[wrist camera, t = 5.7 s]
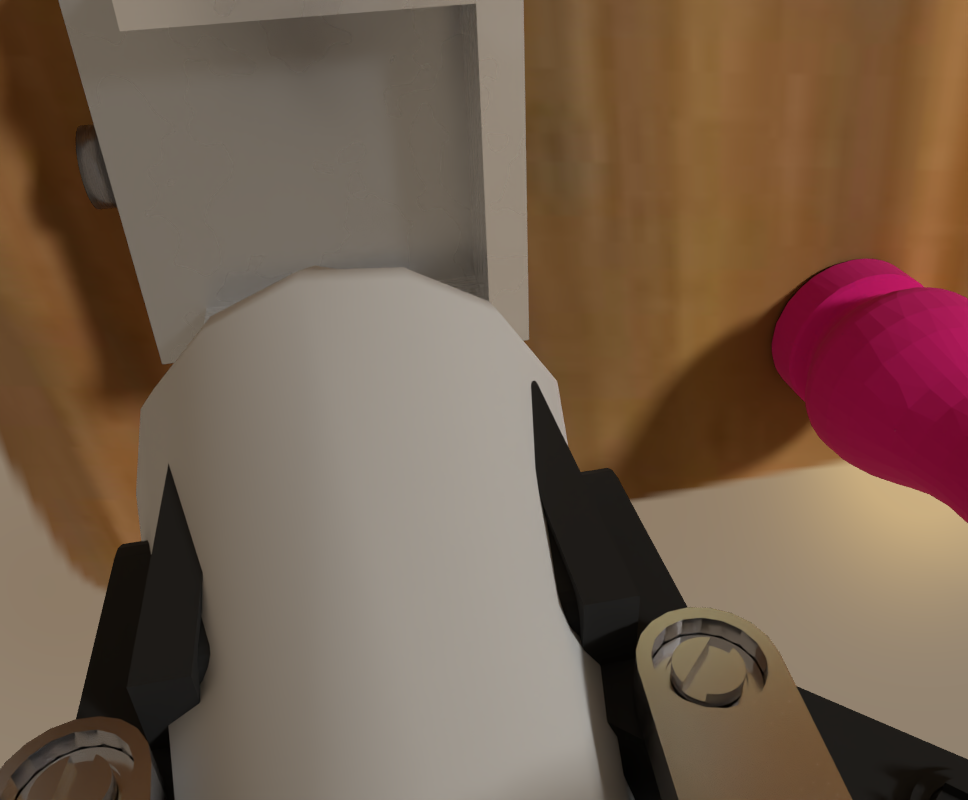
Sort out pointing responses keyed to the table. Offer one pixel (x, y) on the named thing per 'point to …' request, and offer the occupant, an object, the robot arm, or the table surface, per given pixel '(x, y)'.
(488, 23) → the grey square tray
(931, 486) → the pepper mill
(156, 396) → the salt shaker
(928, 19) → the table surface
